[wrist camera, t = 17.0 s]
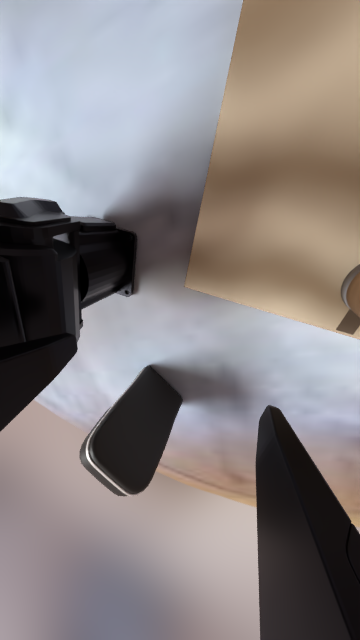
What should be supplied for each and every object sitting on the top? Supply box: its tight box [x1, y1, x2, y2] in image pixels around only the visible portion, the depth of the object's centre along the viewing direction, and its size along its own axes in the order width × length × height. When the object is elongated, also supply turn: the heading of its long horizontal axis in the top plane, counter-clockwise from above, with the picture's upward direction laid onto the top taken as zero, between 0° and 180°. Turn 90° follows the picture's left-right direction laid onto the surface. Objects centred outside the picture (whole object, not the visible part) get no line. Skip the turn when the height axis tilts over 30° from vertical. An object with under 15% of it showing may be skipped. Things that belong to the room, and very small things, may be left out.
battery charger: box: [80, 366, 183, 496], centre depth 22 cm, size 7×4×11 cm, turn 48°
